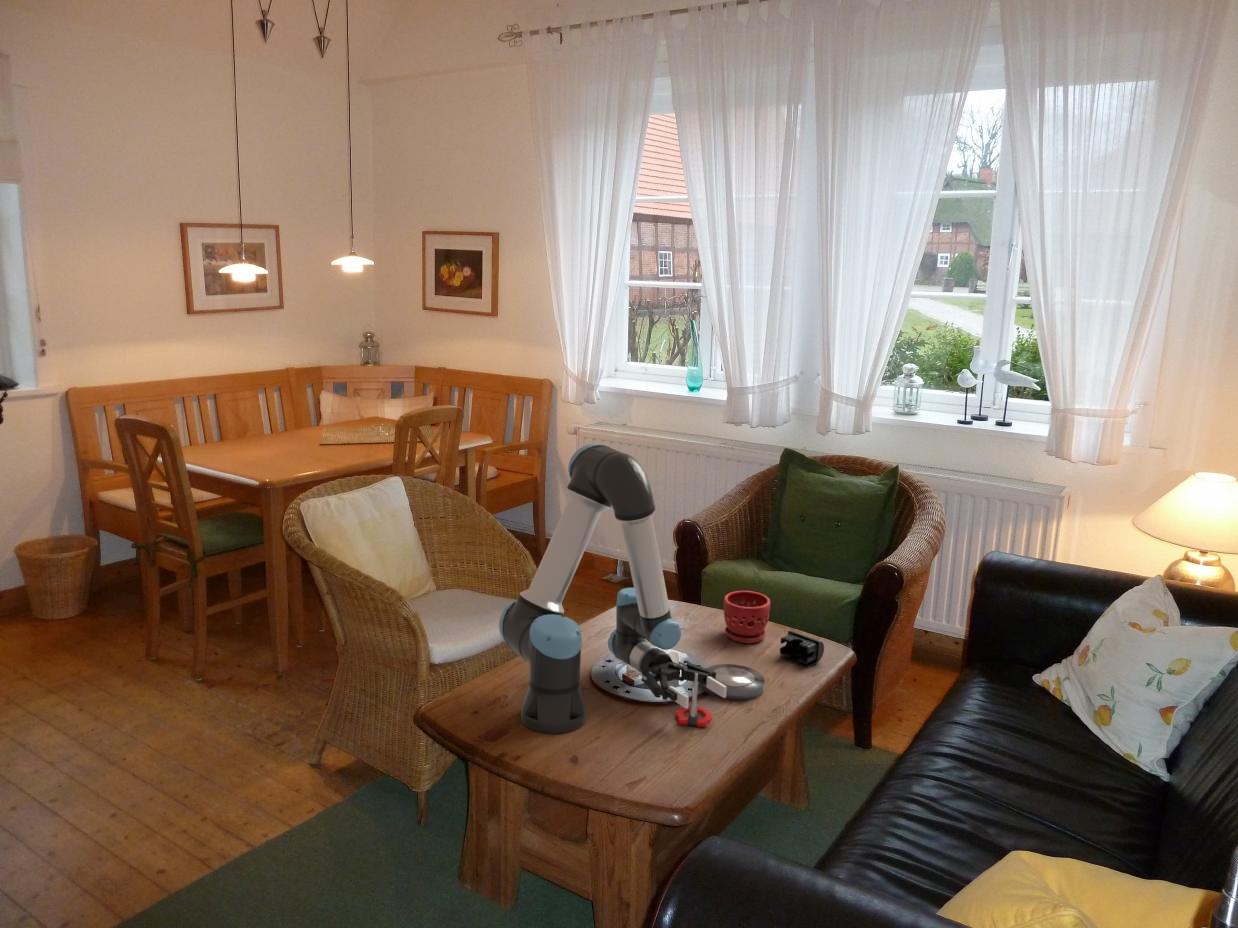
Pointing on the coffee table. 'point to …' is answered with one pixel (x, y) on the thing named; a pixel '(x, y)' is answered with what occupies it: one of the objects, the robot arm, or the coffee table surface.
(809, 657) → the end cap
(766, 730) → the coffee table surface
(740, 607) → the plant pot
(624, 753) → the coffee table surface
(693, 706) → the tow hook
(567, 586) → the robot arm
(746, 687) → the rosette plate
